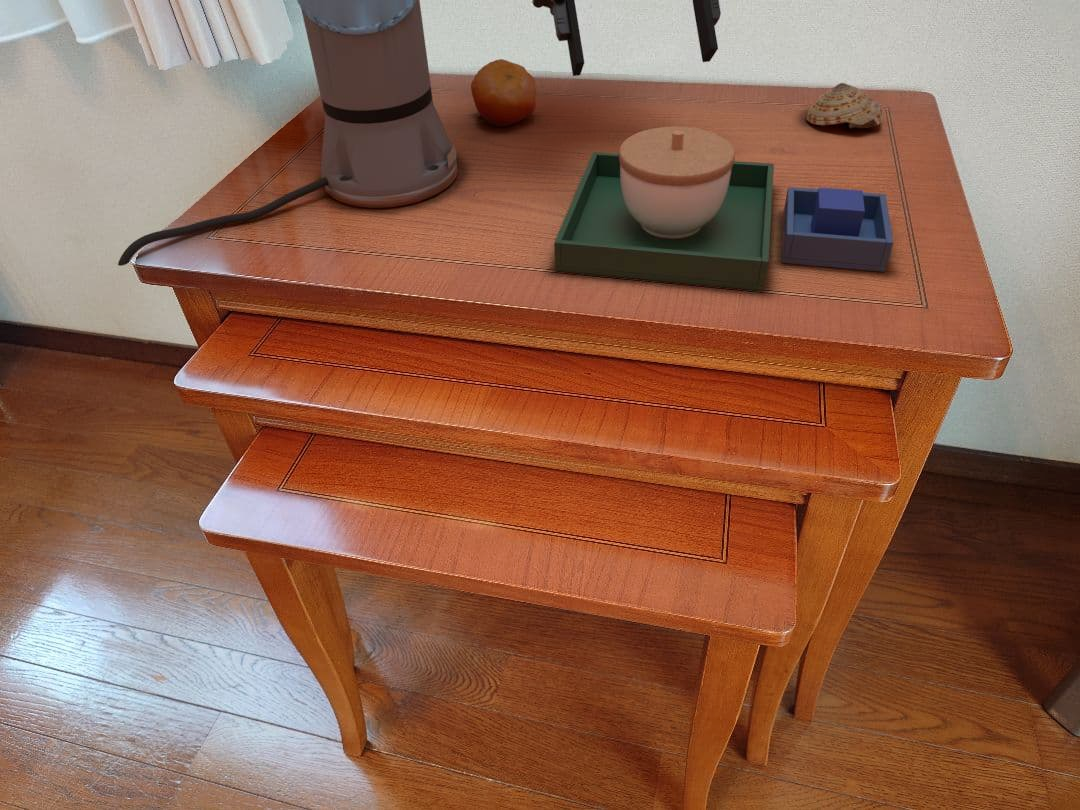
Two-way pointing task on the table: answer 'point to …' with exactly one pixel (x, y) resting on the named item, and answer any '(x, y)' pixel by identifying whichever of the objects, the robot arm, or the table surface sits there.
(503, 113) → the fruit
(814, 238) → the blue tray
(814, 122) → the seashell
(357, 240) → the table surface
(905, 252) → the table surface
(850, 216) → the blue block
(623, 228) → the green tray
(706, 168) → the trinket box
